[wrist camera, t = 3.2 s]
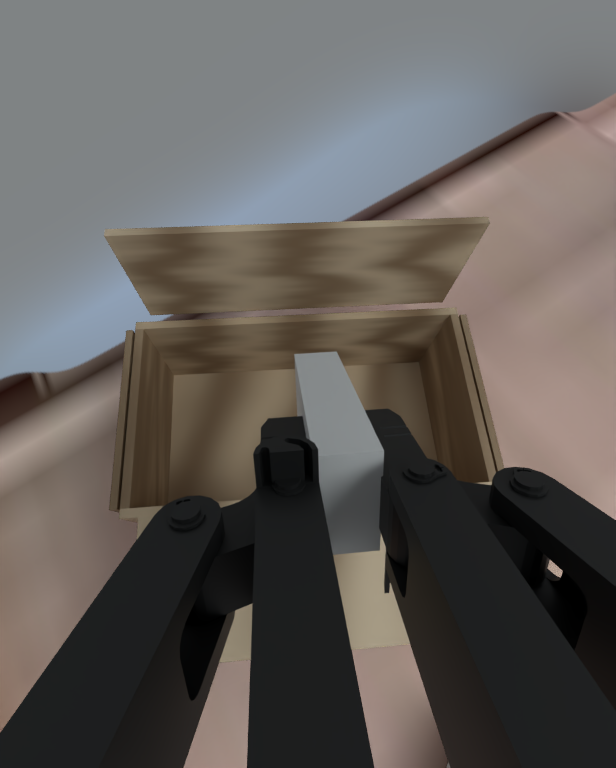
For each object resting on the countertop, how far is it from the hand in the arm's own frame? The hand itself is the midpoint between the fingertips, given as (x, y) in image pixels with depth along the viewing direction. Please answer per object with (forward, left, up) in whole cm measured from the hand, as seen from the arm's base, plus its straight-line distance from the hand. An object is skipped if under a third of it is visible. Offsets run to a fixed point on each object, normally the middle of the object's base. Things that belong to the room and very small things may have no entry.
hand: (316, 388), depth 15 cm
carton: (0, +1, -18) cm, 18 cm away
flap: (0, -9, -10) cm, 14 cm away
